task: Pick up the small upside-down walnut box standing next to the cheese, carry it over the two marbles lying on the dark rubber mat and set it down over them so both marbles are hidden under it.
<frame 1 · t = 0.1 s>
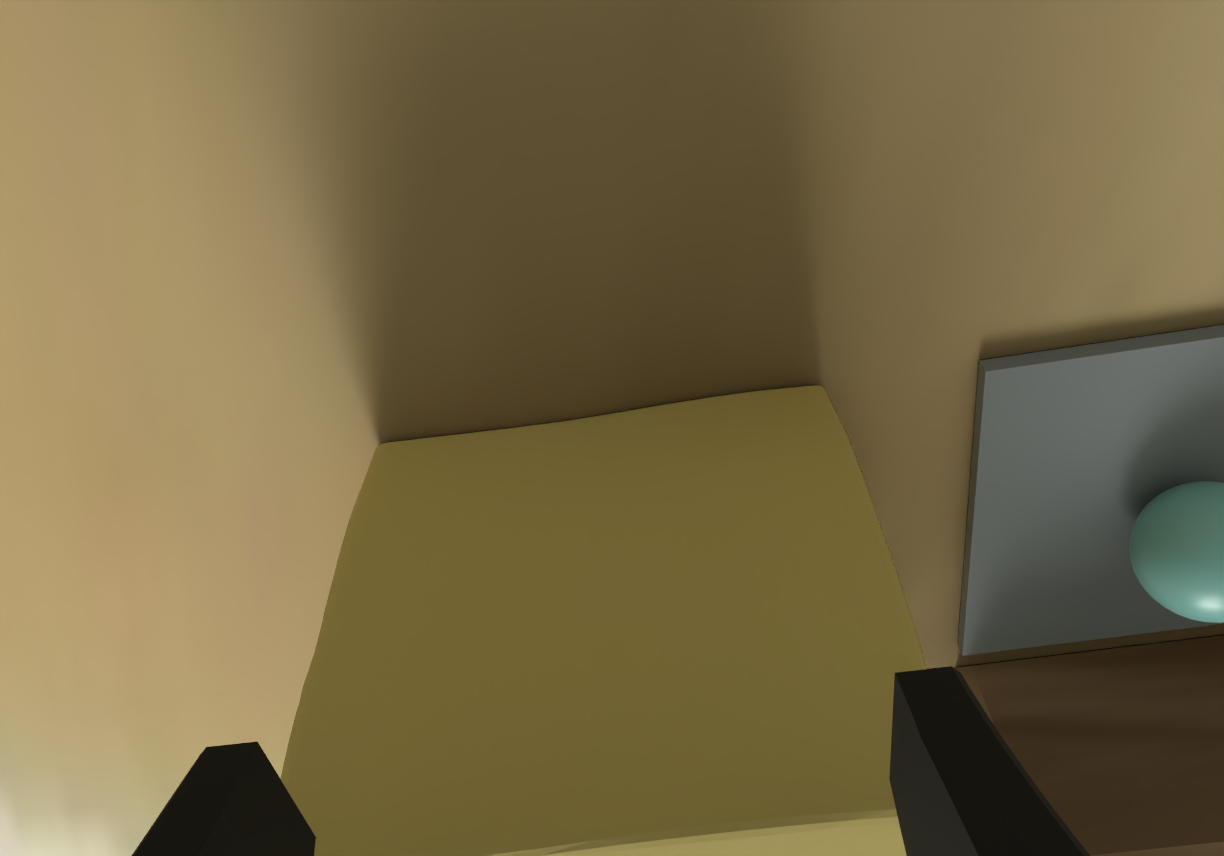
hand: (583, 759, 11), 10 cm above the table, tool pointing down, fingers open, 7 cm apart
cheese: (628, 556, 24), on the table
walnut cover: (1131, 713, 28), on the table
marble teal: (1175, 504, 22), resting on mat
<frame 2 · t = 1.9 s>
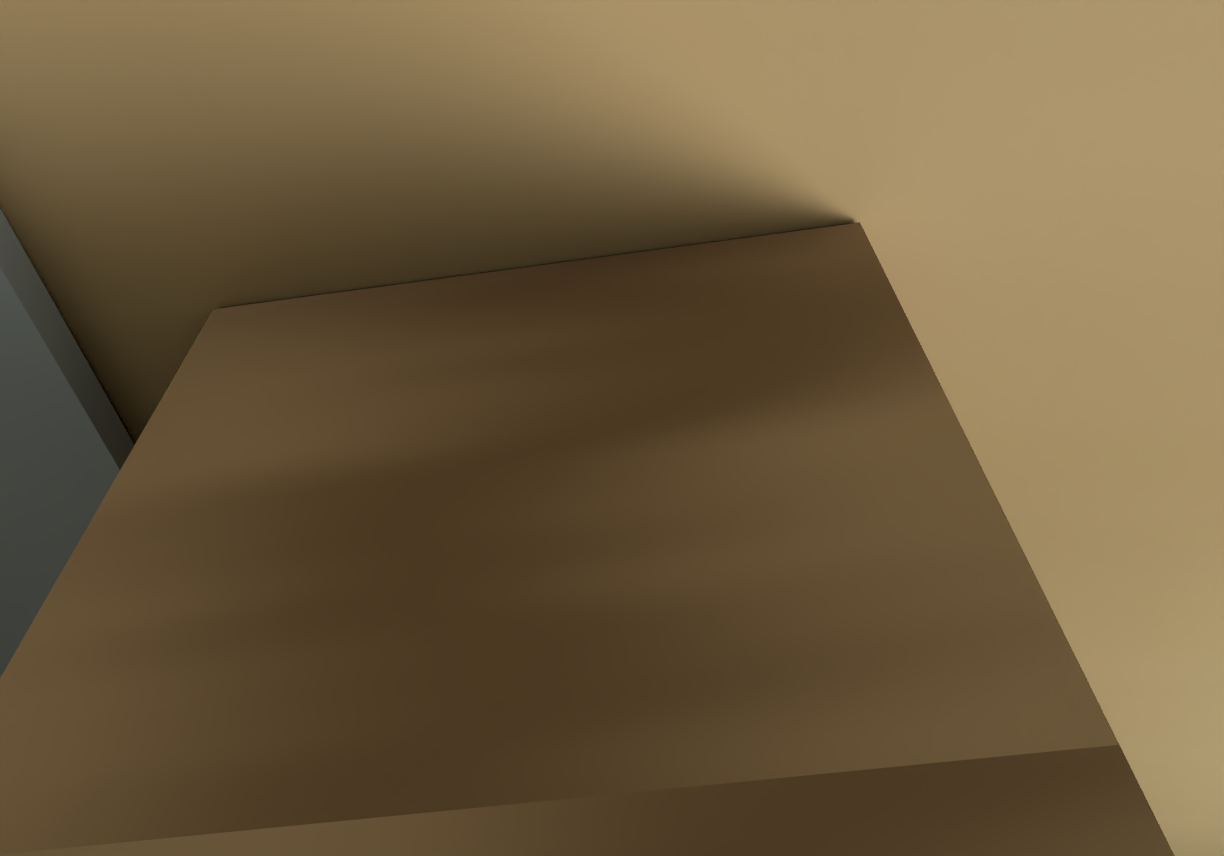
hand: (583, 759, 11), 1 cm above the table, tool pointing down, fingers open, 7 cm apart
walnut cover: (605, 627, 12), on the table, touching gripper
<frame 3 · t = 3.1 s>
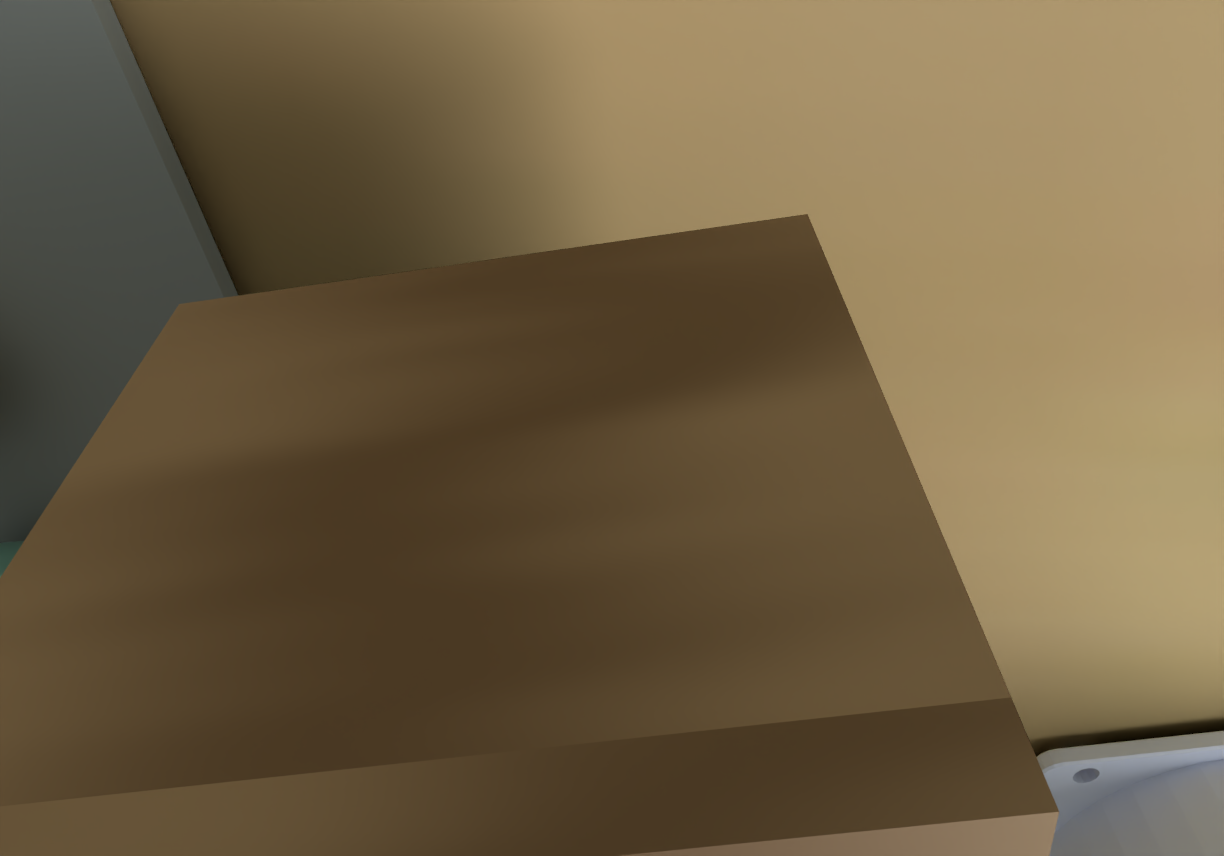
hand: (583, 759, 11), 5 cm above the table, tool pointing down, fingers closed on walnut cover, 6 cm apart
mat: (5, 458, 15), on the table
walnut cover: (575, 619, 12), point 4 cm above the table, touching gripper
marble teal: (59, 568, 16), resting on mat
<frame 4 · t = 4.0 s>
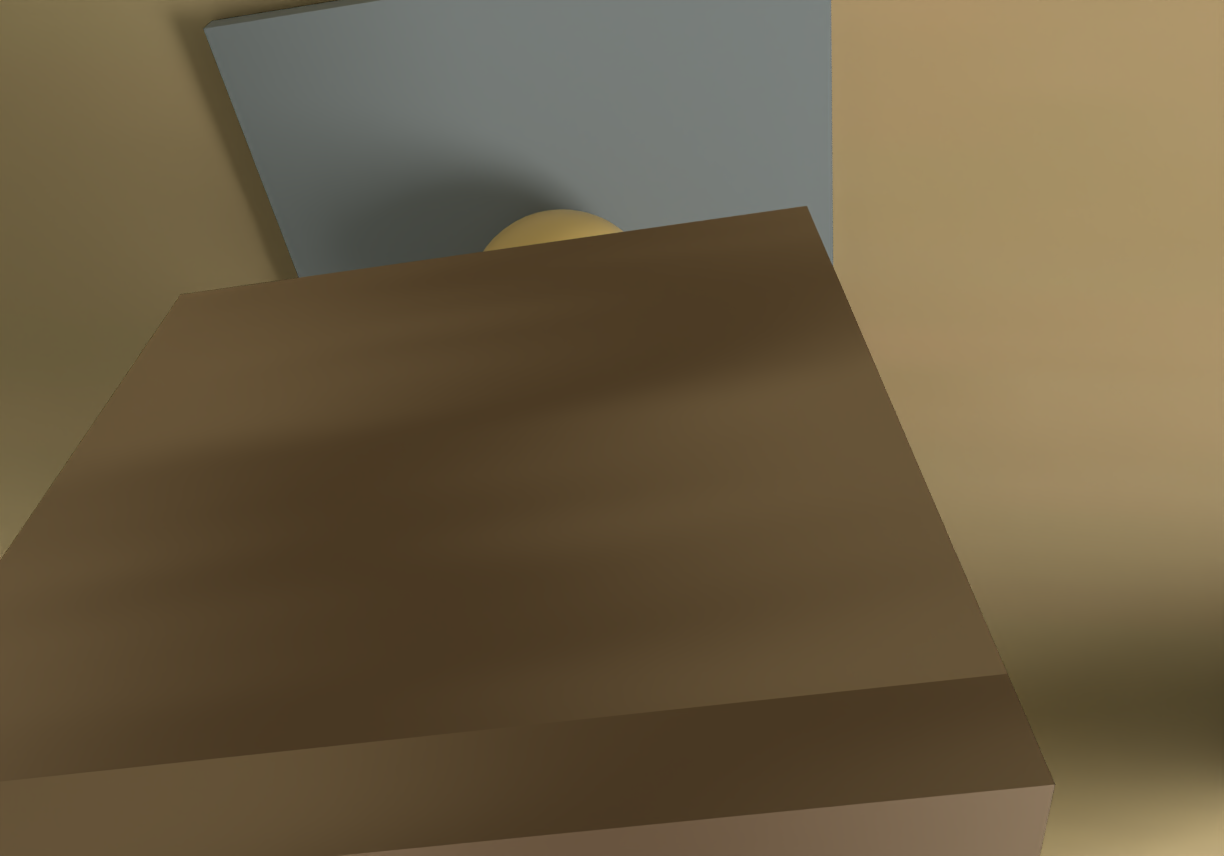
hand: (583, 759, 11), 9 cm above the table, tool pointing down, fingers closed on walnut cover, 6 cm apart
mat: (583, 347, 18), on the table
marble amber: (564, 261, 17), resting on mat
walnut cover: (574, 613, 12), point 7 cm above the table, touching gripper
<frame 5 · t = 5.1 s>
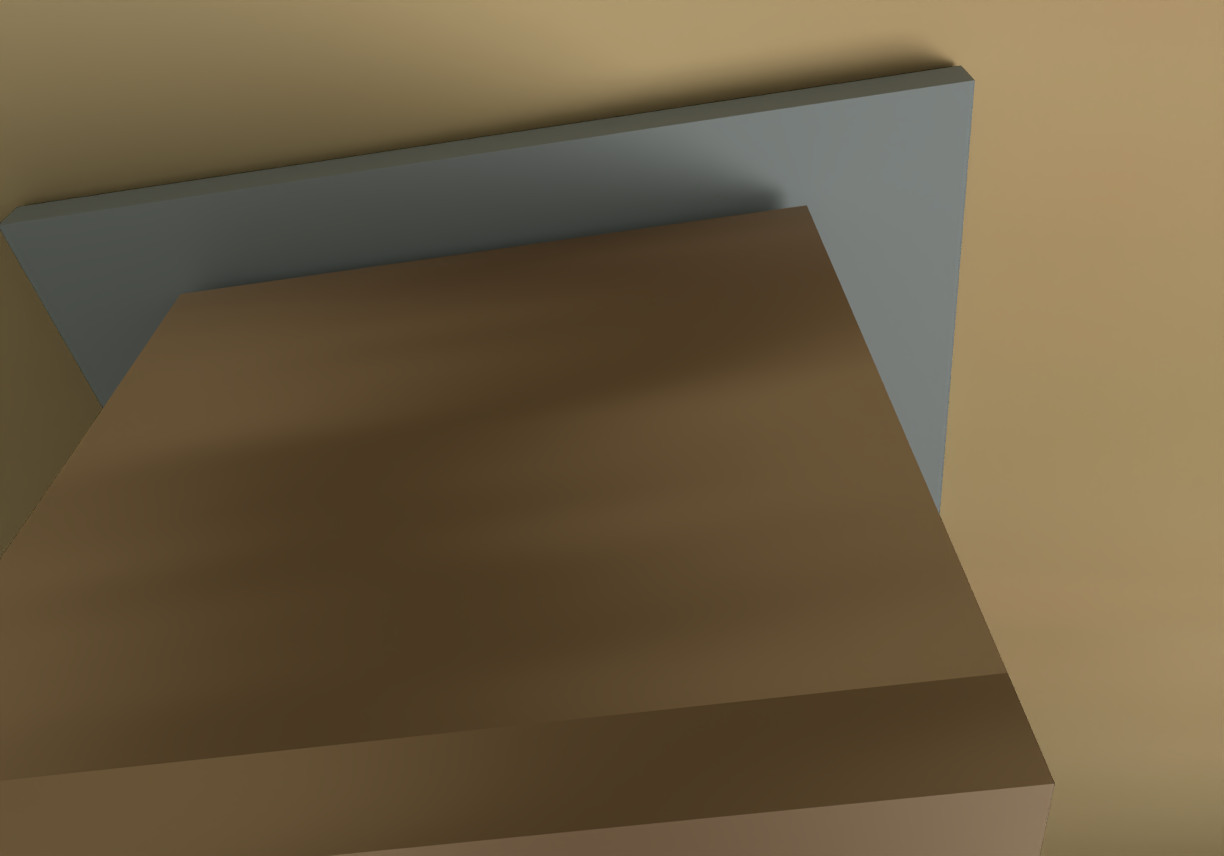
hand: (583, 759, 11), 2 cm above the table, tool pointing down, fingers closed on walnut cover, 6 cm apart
mat: (584, 605, 13), on the table
walnut cover: (574, 613, 12), point 1 cm above the table, touching gripper
when the fingers open (2 cm above the table, at t = 5.7 s): walnut cover stays where it is, resting on mat.
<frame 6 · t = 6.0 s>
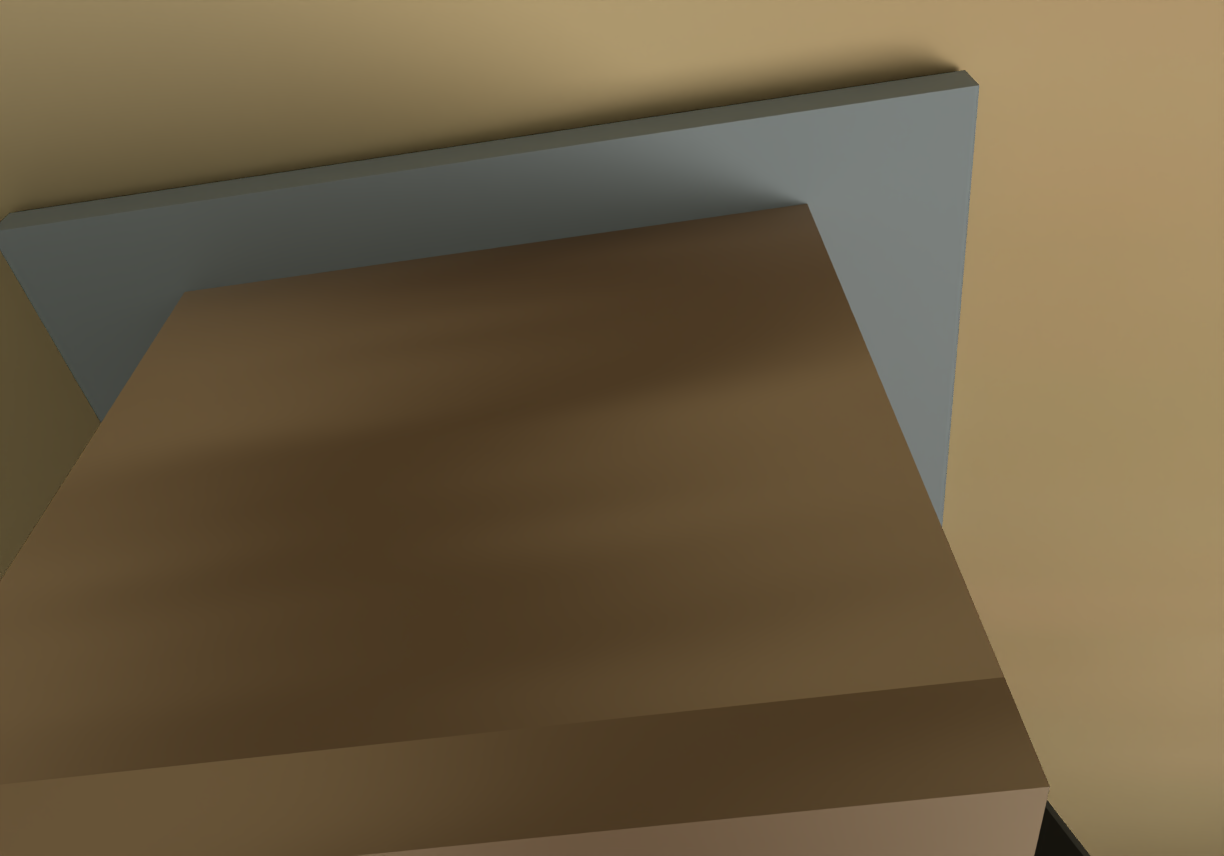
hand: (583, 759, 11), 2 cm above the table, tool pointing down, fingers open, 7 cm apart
mat: (583, 613, 13), on the table
walnut cover: (576, 604, 12), resting on mat
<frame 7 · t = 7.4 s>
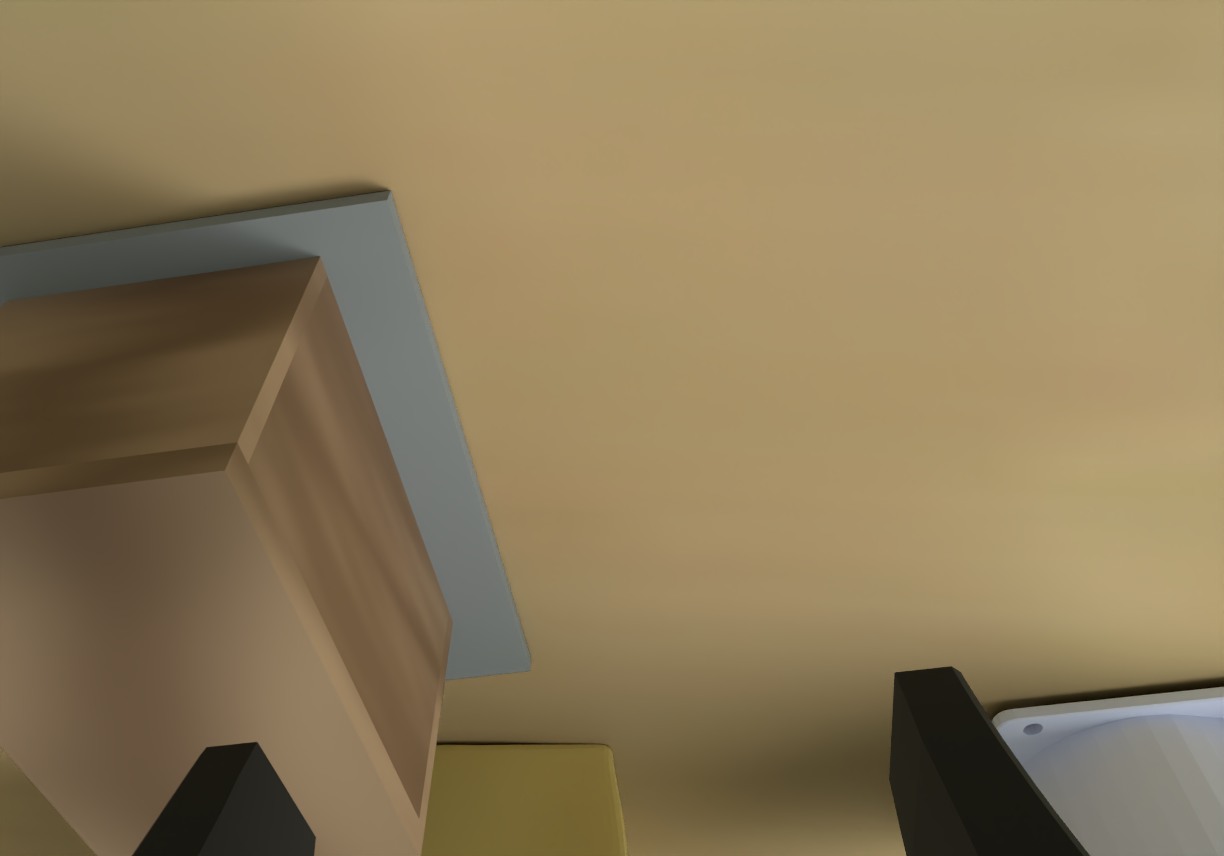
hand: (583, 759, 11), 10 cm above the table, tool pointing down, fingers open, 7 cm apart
cheese: (447, 823, 31), on the table
mat: (274, 492, 22), on the table
walnut cover: (259, 483, 21), resting on mat
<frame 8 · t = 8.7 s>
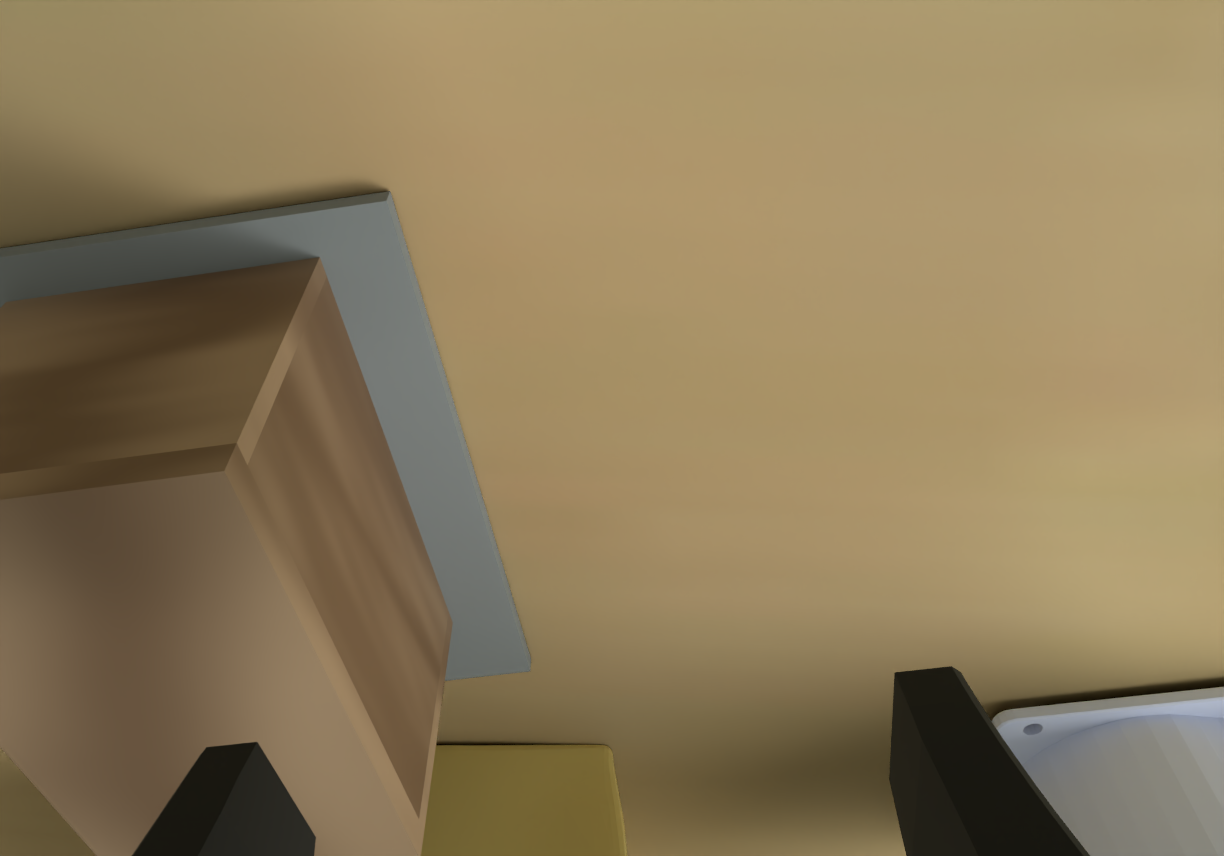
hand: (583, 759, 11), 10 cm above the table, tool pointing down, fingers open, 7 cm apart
cheese: (447, 824, 31), on the table
mat: (273, 493, 22), on the table
walnut cover: (259, 483, 21), resting on mat
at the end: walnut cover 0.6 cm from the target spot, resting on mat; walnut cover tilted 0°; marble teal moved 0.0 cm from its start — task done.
